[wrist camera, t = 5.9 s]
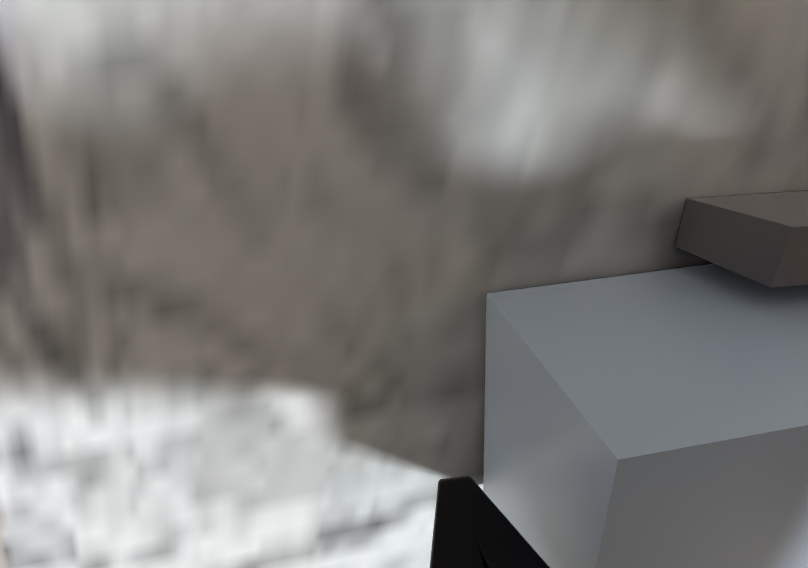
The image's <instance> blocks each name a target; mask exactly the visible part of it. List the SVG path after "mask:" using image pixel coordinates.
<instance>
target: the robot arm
mask: <svg viewBox="0 0 808 568" xmlns="http://www.w3.org/2000/svg"><path fill="white" fill-rule="evenodd" d="M430 568H550V567H549V566H548V565H547V564H546V562H545V561H544V560H543V559H542V558H541V557H540V556H539V554H538V553H537V552H536V551H535V550H534V549H533V548H532V546H531V545H530V544H529V543H528V542H527V541H526V540H525V538H524V537H523V536H522V535H521V534H520V533H519V532H518V530H517V529H516V528H515V527H514V526H513V525H512V524H511V522H510V521H509V520H508V519H507V518H506V517H505V516H504V514H503V513H502V512H501V511H500V510H499V509H498V508H497V506H496V505H495V504H494V503H493V502H492V501H491V500H490V498H489V497H488V496H487V495H486V494H485V493H484V492H483V490H482V489H481V488H480V487H479V486H478V485H477V484H476V482H475V481H474V480H473V479H472V478H471V477H470V476H460V477H453V478H446V479H440V480H439V482H438V490H437V500H436V510H435V521H434V531H433V541H432V551H431V561H430Z"/></svg>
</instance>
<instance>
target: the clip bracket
mask: <svg viewBox="0 0 808 568" xmlns="http://www.w3.org/2000/svg"><path fill="white" fill-rule="evenodd" d="M675 247H677V248H679V249H682V250H684V251H686V252H689V253H691V254H693V255H696V256H698V257H700V258H703V259H705V260H707V261H710V262H712V263H714V264H716V265H719V266H721V267H723V268H726V269H728V270H730V271H733V272H735V273H737V274H740V275H742V276H744V277H747V278H749V279H751V280H754V281H756V282H758V283H760V284H763V285H765V286H767V287H770V288H774V287H785V286H796V285H807V284H808V190H806V191H790V192H775V193H760V194H745V195H729V196H714V197H699V198H687V201H686V205H685V209H684V213H683V216H682V220H681V224H680V228H679V232H678V236H677V240H676V244H675Z"/></svg>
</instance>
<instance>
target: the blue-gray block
mask: <svg viewBox="0 0 808 568" xmlns="http://www.w3.org/2000/svg"><path fill="white" fill-rule="evenodd" d="M483 492H484V493H485V494H486V495H487V496H488V497H489V498H490V500H491V501H492V502H493V503H494V504H495V505H496V506H497V508H498V509H499V510H500V511H501V512H502V513H503V514H504V516H505V517H506V518H507V519H508V520H509V521H510V522H511V524H512V525H513V526H514V527H515V528H516V529H517V530H518V532H519V533H520V534H521V535H522V536H523V537H524V538H525V540H526V541H527V542H528V543H529V544H530V545H531V546H532V548H533V549H534V550H535V551H536V552H537V553H538V554H539V556H540V557H541V558H542V559H543V560H544V561H545V562H546V564H547V565H548V566H549V567H550V568H808V284H807V285H796V286H785V287H774V288H770V287H767V286H765V285H763V284H760V283H758V282H756V281H754V280H751V279H749V278H747V277H744V276H742V275H740V274H737V273H735V272H733V271H730V270H728V269H726V268H723V267H721V266H719V265H716V264H706V265H699V266H691V267H684V268H676V269H668V270H661V271H653V272H646V273H638V274H630V275H623V276H615V277H608V278H600V279H592V280H585V281H577V282H569V283H562V284H554V285H547V286H539V287H531V288H524V289H516V290H509V291H501V292H493V293H486V354H485V417H484V480H483Z"/></svg>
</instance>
